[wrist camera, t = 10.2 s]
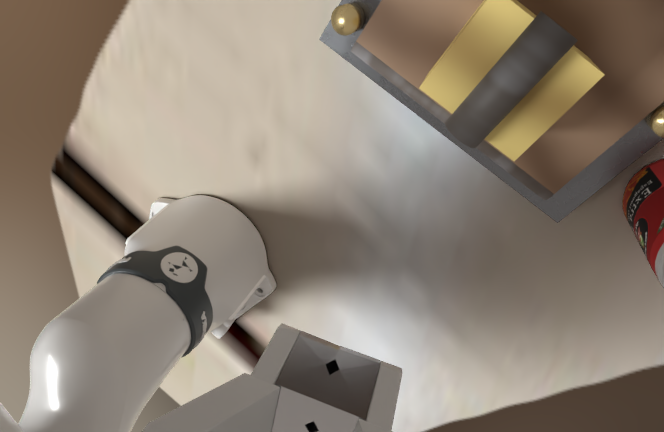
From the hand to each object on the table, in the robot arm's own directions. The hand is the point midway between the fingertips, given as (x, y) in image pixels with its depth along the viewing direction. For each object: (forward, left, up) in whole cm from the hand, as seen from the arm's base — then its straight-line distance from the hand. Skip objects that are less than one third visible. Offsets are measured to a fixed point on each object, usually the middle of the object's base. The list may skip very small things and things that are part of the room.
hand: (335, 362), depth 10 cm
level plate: (+7, -2, -30) cm, 31 cm away
